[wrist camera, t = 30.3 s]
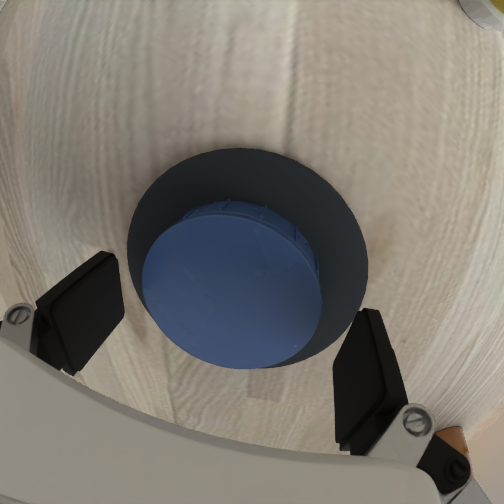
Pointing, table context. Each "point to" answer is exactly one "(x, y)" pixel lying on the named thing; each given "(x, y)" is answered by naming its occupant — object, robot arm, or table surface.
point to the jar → (456, 442)
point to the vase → (2, 4)
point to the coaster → (278, 200)
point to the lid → (234, 285)
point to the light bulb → (485, 12)
